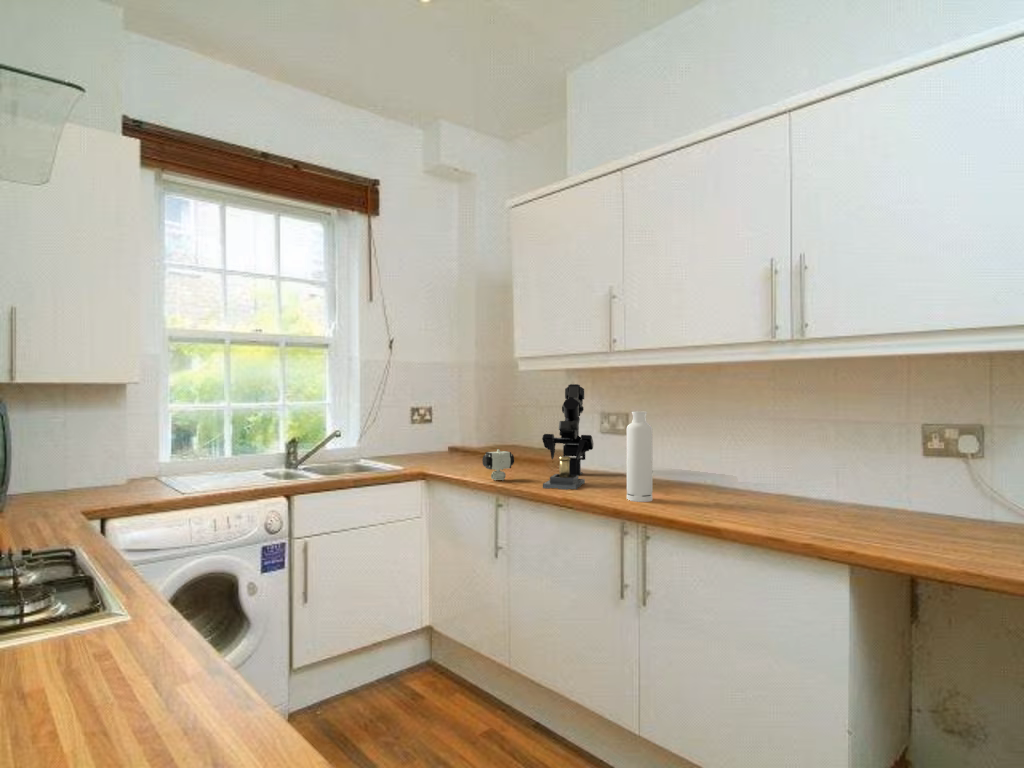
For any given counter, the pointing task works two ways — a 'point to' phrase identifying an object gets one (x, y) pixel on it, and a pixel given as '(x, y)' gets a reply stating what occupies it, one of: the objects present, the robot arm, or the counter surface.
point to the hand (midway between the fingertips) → (564, 459)
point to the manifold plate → (564, 482)
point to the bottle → (639, 459)
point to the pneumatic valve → (498, 463)
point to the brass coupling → (564, 466)
